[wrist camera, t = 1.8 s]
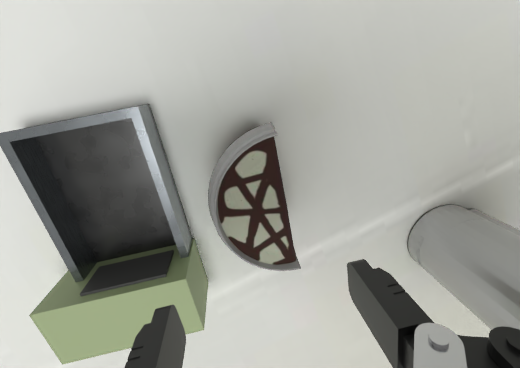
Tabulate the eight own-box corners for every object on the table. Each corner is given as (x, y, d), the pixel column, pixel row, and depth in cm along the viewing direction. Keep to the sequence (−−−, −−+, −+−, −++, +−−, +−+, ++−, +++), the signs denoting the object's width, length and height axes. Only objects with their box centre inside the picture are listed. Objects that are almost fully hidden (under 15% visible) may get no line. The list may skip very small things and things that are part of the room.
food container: (198, 126, 26) (183, 146, 17) (258, 113, 26) (276, 125, 17) (228, 230, 31) (229, 292, 21) (278, 218, 31) (302, 273, 22)
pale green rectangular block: (193, 236, 30) (184, 276, 24) (208, 281, 33) (203, 329, 26) (71, 263, 30) (27, 312, 23) (95, 308, 32) (62, 364, 25)
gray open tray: (149, 104, 25) (137, 106, 22) (192, 238, 30) (188, 256, 27) (25, 128, 24) (-7, 134, 21) (92, 261, 30) (75, 282, 26)
